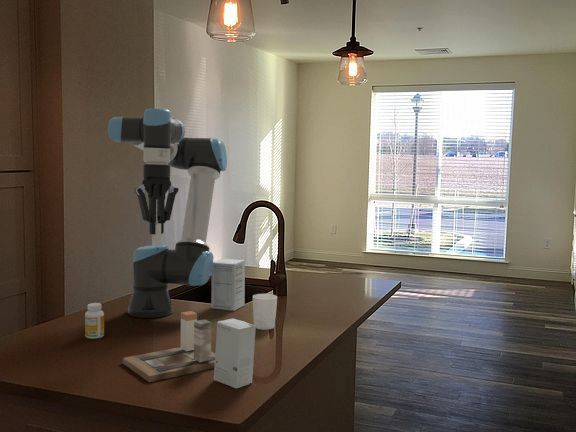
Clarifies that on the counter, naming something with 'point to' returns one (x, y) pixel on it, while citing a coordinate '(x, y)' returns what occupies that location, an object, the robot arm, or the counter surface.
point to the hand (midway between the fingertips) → (156, 245)
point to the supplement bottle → (94, 321)
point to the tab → (187, 330)
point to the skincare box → (234, 352)
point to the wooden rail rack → (176, 357)
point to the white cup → (264, 311)
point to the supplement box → (228, 284)
